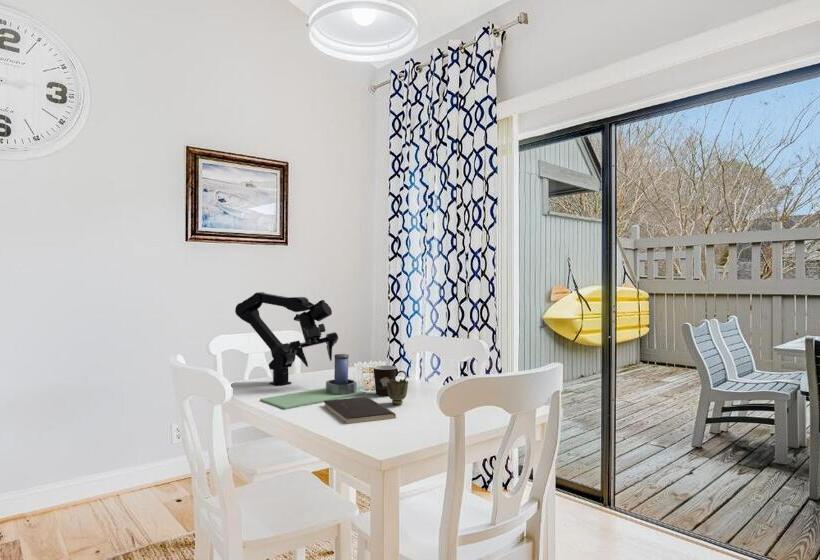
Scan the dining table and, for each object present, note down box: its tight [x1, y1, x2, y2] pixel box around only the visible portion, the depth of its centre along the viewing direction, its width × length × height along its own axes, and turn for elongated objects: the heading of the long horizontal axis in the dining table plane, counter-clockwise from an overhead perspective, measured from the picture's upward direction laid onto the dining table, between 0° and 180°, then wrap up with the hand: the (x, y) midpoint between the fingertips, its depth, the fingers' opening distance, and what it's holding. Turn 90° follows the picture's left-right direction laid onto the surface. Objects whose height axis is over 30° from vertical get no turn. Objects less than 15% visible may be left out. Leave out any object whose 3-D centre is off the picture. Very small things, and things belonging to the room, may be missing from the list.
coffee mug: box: [373, 364, 408, 398], centre depth 192 cm, size 12×9×10 cm
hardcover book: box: [323, 396, 397, 424], centre depth 168 cm, size 16×23×2 cm
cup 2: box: [387, 378, 409, 406], centre depth 178 cm, size 8×7×8 cm
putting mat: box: [259, 387, 367, 410], centre depth 187 cm, size 16×34×1 cm, turn 135°
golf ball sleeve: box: [333, 353, 349, 385], centre depth 194 cm, size 5×5×13 cm
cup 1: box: [325, 378, 358, 395], centre depth 194 cm, size 11×11×4 cm
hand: (319, 363), depth 198 cm, fingers open, 9 cm apart
